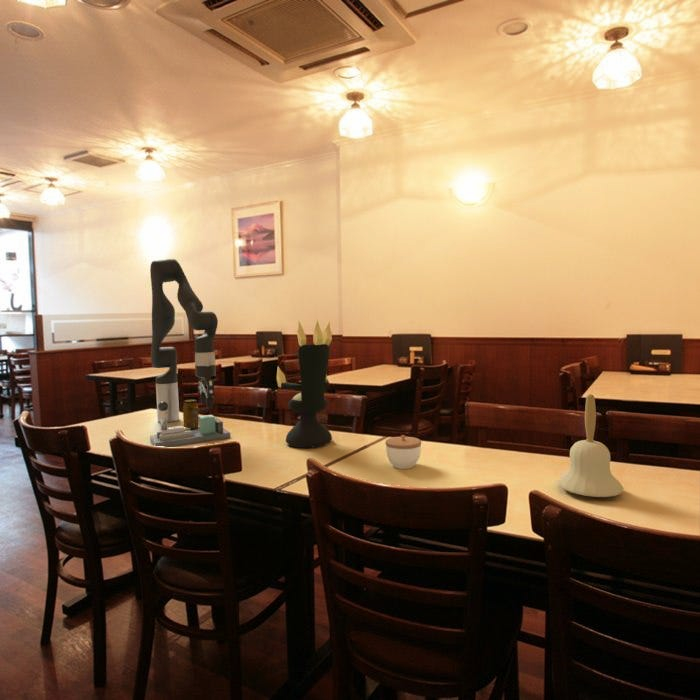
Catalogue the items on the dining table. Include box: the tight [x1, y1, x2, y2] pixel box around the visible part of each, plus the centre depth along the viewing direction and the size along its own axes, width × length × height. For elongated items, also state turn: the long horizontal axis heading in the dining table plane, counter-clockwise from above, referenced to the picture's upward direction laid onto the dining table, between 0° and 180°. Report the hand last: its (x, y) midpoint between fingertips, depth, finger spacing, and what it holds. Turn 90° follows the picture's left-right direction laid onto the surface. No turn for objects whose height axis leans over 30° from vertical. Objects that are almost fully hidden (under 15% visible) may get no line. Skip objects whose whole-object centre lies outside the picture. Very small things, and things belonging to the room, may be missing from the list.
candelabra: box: [276, 319, 333, 449], centre depth 179 cm, size 19×22×45 cm
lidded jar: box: [385, 434, 422, 470], centre depth 153 cm, size 11×11×9 cm
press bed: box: [149, 417, 231, 448], centre depth 191 cm, size 13×27×6 cm, turn 120°
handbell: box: [556, 393, 625, 498], centre depth 127 cm, size 15×15×25 cm
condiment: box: [182, 399, 200, 430], centre depth 209 cm, size 7×8×12 cm
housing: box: [199, 414, 216, 434], centre depth 195 cm, size 5×5×6 cm
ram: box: [158, 401, 188, 435], centre depth 188 cm, size 4×10×13 cm, turn 120°
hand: (206, 405), depth 194 cm, fingers open, 8 cm apart
